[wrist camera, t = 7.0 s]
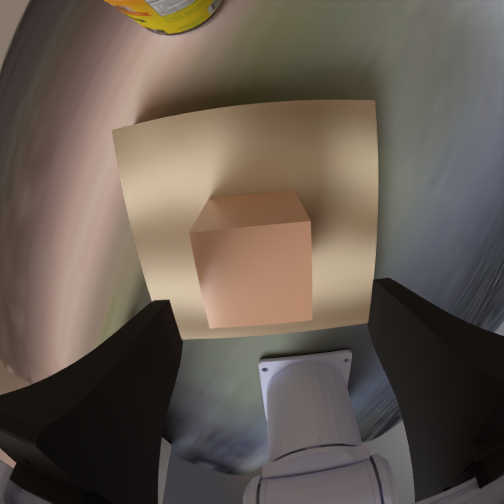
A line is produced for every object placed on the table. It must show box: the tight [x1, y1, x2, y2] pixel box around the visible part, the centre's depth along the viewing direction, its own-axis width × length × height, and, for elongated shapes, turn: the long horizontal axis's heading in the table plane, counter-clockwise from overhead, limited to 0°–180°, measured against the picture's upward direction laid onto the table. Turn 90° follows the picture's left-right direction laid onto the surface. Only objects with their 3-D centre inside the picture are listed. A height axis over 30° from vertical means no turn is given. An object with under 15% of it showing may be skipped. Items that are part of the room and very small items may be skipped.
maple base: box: [112, 100, 378, 339], centre depth 18 cm, size 14×14×3 cm
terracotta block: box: [189, 190, 312, 328], centre depth 14 cm, size 4×4×5 cm
